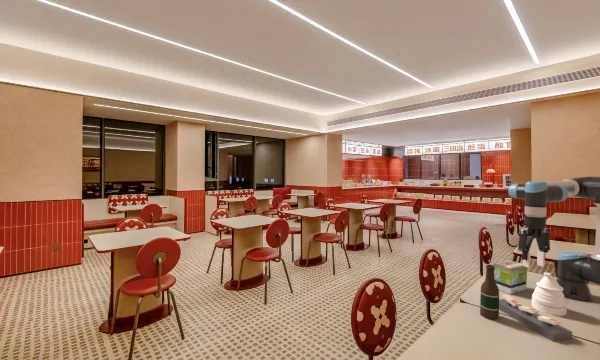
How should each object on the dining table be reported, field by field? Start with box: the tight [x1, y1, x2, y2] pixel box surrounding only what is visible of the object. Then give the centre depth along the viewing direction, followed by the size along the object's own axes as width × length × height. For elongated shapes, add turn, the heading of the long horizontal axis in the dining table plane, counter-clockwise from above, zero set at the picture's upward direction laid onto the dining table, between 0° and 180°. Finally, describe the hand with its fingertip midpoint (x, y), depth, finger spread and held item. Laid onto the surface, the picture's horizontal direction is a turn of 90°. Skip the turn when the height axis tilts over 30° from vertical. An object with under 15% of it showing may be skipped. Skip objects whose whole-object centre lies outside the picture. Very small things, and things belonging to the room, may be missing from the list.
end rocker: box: [538, 315, 562, 325], centre depth 118 cm, size 7×3×1 cm, turn 9°
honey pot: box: [531, 272, 568, 317], centre depth 137 cm, size 13×13×18 cm
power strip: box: [499, 298, 573, 342], centre depth 127 cm, size 29×9×4 cm, turn 9°
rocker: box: [501, 293, 521, 307], centre depth 136 cm, size 7×3×1 cm, turn 9°
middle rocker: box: [518, 305, 540, 314], centre depth 127 cm, size 7×3×1 cm, turn 9°
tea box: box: [493, 259, 528, 295], centre depth 160 cm, size 15×10×15 cm
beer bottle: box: [479, 264, 500, 321], centre depth 131 cm, size 8×8×24 cm
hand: (533, 266), depth 126 cm, fingers open, 7 cm apart
